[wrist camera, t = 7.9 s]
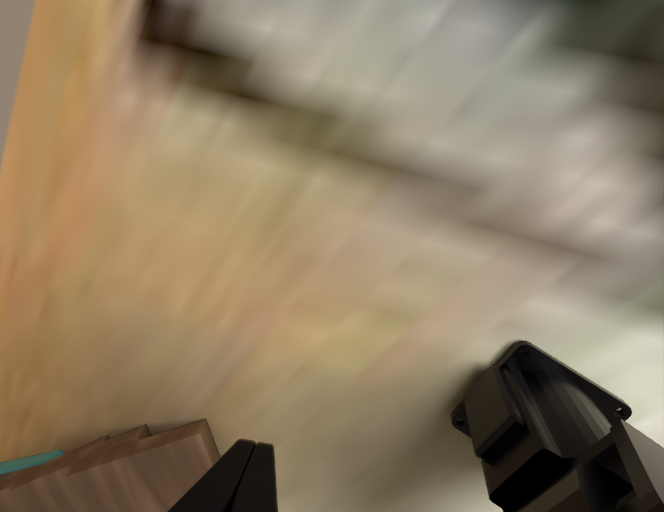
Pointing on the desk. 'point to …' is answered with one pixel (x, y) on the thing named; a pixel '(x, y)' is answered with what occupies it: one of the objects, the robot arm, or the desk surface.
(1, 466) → the domino
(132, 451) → the domino
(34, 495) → the domino
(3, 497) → the domino
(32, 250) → the desk surface
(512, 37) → the desk surface
